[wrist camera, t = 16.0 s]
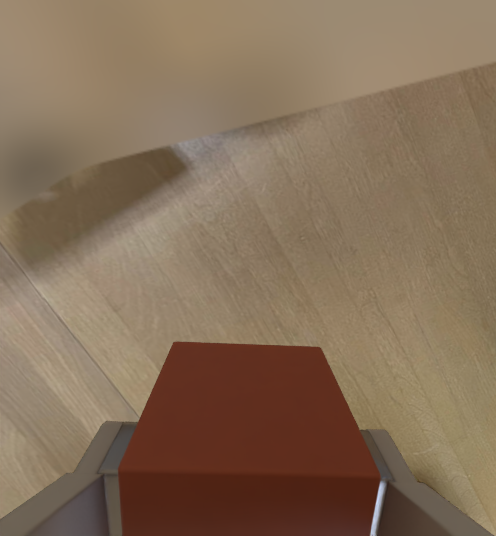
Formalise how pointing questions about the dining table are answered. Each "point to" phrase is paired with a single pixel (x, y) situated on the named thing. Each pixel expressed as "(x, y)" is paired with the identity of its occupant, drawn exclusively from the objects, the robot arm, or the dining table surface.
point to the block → (247, 448)
